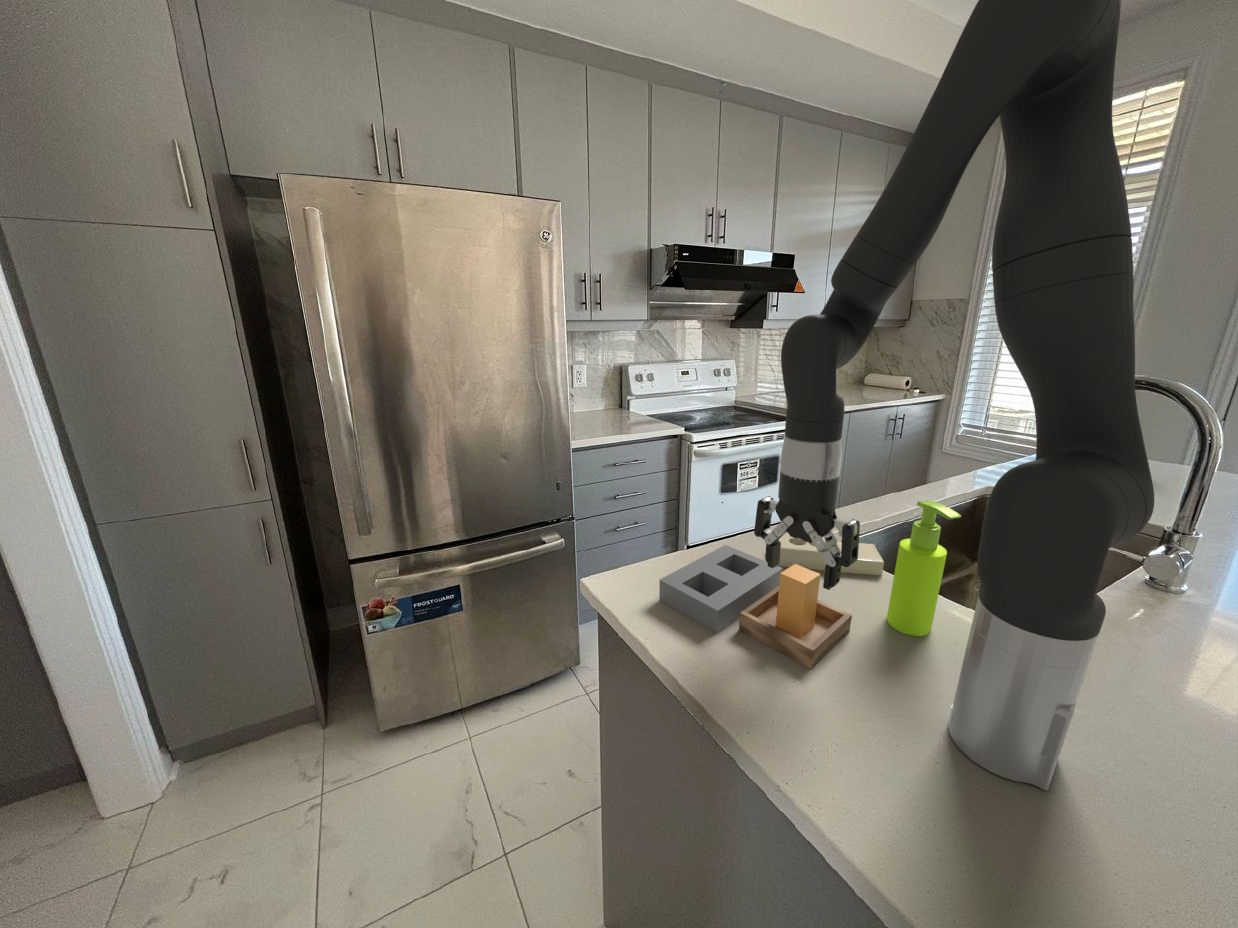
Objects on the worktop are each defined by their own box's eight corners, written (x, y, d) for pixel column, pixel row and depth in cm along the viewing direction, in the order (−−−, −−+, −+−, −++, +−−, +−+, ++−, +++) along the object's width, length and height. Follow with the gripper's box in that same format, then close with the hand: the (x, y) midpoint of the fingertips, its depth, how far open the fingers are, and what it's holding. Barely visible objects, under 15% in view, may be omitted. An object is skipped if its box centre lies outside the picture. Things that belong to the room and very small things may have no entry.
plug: (814, 626, 72) (820, 574, 69) (799, 638, 69) (805, 584, 67) (790, 614, 75) (795, 563, 72) (775, 625, 72) (780, 573, 70)
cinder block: (780, 588, 83) (782, 568, 82) (716, 633, 72) (717, 610, 71) (724, 563, 92) (725, 544, 91) (659, 600, 81) (659, 579, 80)
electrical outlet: (884, 557, 86) (779, 548, 90) (881, 577, 87) (777, 567, 91) (874, 539, 92) (776, 531, 96) (871, 558, 94) (775, 550, 98)
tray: (849, 631, 72) (851, 614, 71) (811, 669, 65) (813, 650, 64) (779, 599, 80) (781, 584, 79) (738, 629, 73) (739, 612, 72)
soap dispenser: (914, 643, 69) (939, 516, 63) (877, 616, 75) (897, 498, 69) (946, 636, 70) (974, 511, 64) (908, 609, 77) (929, 493, 71)
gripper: (876, 474, 62) (861, 584, 66) (776, 454, 72) (769, 551, 77) (851, 488, 57) (837, 606, 62) (748, 464, 67) (742, 567, 72)
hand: (799, 575), depth 69 cm, fingers open, 8 cm apart
